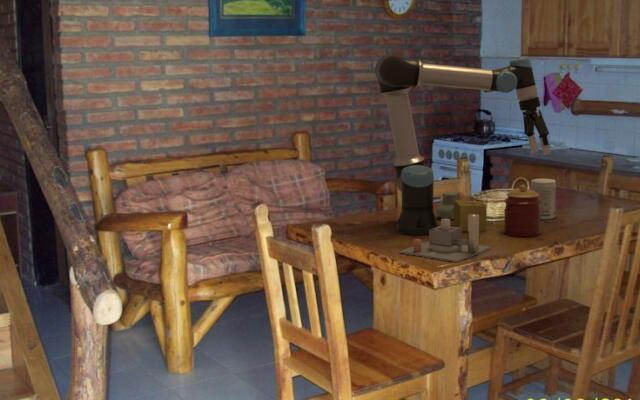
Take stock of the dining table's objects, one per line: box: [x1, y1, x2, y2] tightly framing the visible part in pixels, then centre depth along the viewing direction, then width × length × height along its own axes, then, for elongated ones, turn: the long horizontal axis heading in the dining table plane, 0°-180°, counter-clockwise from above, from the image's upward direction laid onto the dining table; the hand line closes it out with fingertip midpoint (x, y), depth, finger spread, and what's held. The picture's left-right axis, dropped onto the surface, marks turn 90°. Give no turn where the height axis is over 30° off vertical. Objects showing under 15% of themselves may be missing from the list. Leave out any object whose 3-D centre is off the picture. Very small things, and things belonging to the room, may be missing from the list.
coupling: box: [428, 214, 480, 253], centre depth 290 cm, size 16×8×12 cm, turn 55°
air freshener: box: [435, 191, 459, 221], centre depth 345 cm, size 11×8×10 cm
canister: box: [503, 184, 542, 237], centre depth 316 cm, size 13×13×18 cm
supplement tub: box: [530, 178, 557, 220], centre depth 342 cm, size 10×10×15 cm
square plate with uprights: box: [398, 218, 492, 263], centre depth 293 cm, size 22×22×11 cm
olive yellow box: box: [454, 199, 487, 233], centre depth 326 cm, size 10×11×10 cm
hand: (541, 153), depth 333 cm, fingers open, 13 cm apart
